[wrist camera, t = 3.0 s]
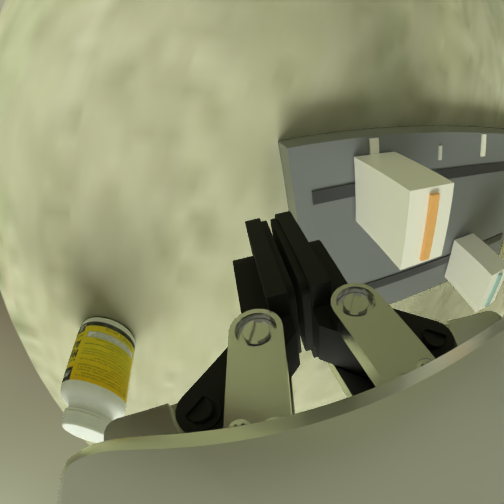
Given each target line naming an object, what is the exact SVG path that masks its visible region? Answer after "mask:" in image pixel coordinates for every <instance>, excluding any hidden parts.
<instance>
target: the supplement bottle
mask: <svg viewBox="0 0 504 504" xmlns="http://www.w3.org/2000/svg"><path fill="white" fill-rule="evenodd" d="M135 346H136V344H135V339H134V337H133V335H132V334H131V333H130V331H129V330H128V329H127V328H125V327H124V326H123V325H121V324H119V323H118V322H116V321H113V320H110V319H107V318H100V317H94V318H89V319H87V320H86V321H84V322H83V324H82V325H81V327H80V330H79V332H78V335H77V338H76V341H75V344H74V347H73V350H72V353H71V356H70V359H69V362H68V365H67V368H66V372H65V375H64V378H63V381H62V386H61V395H62V398H63V400H64V402H65V403H66V404H67V405H68V406H69V407H68V408H66V409H65V411H64V415H63V421H62V426H63V428H64V429H65V430H66V431H68V432H69V433H71V434H73V435H75V436H77V437H79V438H82V439H84V440H87V441H90V442H95V443H99V442H103V441H104V431H105V429H106V426H107V425H108V424H109V423H110V422H111V421H113V420H115V419H117V418H120V417H123V416H124V415H125V412H126V406H127V397H128V390H129V383H130V377H131V370H132V364H133V359H134V353H135Z"/></svg>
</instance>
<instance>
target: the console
mask: <svg viewBox="0 0 504 504" xmlns="http://www.w3.org/2000/svg"><path fill="white" fill-rule="evenodd" d="M278 144H279V150H280V156H281V162H282V168H283V174H284V181H285V187H286V194H287V201H288V208H289V211H290V212H291V213H292V215H293V217H294V218H295V220H296V222H297V223H298V225H299V227H300V228H301V230H302V232H303V233H304V235H305V237H306V238H307V240H308V242H311V241H315V240H320V241H321V242H322V244H323V245H324V247H325V248H326V250H327V251H328V253H329V254H330V256H331V257H332V259H333V261H334V262H335V264H336V265H337V267H338V269H339V270H340V272H341V273H342V275H343V277H344V278H345V280H346V281H347V283H348V284H349V283H362V284H366V285H368V286H370V287H372V288H373V289H374V290H376V291H377V292H378V293H379V294H380V295H381V297H382V298H383V299H384V300H385V301H386V302H387V303H388V304H391V303H394V302H397V301H399V300H402V299H405V298H407V297H410V296H412V295H415V294H417V293H420V292H422V291H425V290H427V289H430V288H432V287H434V286H437V285H439V284H441V283H444V282H446V281H448V280H447V279H446V278H445V277H444V276H445V273H446V270H447V266H448V263H449V259H450V255H451V251H452V247H453V243H454V240H455V239H458V238H461V237H464V236H467V235H469V234H472V233H474V234H475V235H476V236H477V237H478V238H480V239H481V240H482V241H483V242H484V243H485V244H487V245H488V246H489V247H490V248H491V249H492V250H493V251H494V252H496V253H497V254H498V255H499V253H500V250H501V247H502V244H503V240H504V129H499V128H487V127H471V126H405V127H386V128H373V129H362V130H352V131H342V132H334V133H326V134H319V135H312V136H306V137H299V138H293V139H288V140H282V141H278ZM387 152H397V153H399V154H401V155H403V156H405V157H407V158H409V159H411V160H413V161H415V162H417V163H419V164H421V165H423V166H425V167H427V168H429V169H431V170H432V171H434V172H436V173H438V174H440V175H441V176H443V177H445V178H447V179H448V180H450V181H452V182H454V189H453V197H452V204H451V210H450V216H449V222H448V227H447V232H446V237H445V242H444V246H443V250H442V255H441V256H439V257H436V258H434V259H431V260H428V261H425V262H423V263H420V264H417V265H414V266H411V267H408V268H405V269H402V270H400V269H399V268H398V267H397V266H396V265H395V264H394V262H393V261H392V260H391V259H390V258H389V257H388V255H387V254H386V253H385V252H384V251H383V250H382V249H381V248H380V246H379V245H378V244H377V243H376V242H375V241H374V240H373V239H372V238H371V237H370V235H369V234H368V233H367V232H366V231H365V230H364V229H363V228H362V227H361V226H360V225H359V224H358V223H357V222H356V195H355V167H354V157H356V156H363V155H371V154H378V153H387Z"/></svg>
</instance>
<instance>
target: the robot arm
mask: <svg viewBox="0 0 504 504" xmlns="http://www.w3.org/2000/svg"><path fill="white" fill-rule="evenodd" d="M270 221H271V227H272V233H273V235H272V233H271V231H270V228H269V226H268V224H267V221H262V222H261V220H260V218H258V219H254V220H250V221H246V222H245V224H246V228H247V233H248V237H249V241H250V245H251V250H252V254H253V256H251V257H247V258H243V259H238V260H234V261H233V266H234V272H235V278H236V284H237V290H238V296H239V302H240V308H241V314H240V315H239V316H238V317H237V318H235V319H234V321H233V322H232V324H231V325H230V329H229V336H228V347H227V348H226V350H225V351H224V352H223V353H222V354H221V355H220V356H219V357H218V358H217V360H216V361H215V362H214V363H213V364H212V365H211V366H210V367H209V368H208V370H207V371H206V372H205V373H204V374H203V375H202V376H201V377H200V378H199V379H198V381H197V382H196V383H195V384H194V385H193V386H192V387H191V388H190V389H189V390H188V391H187V392H186V393H185V394H184V396H183V397H182V398H181V399H180V401H179V402H178V403H177V404H174V405H171V406H170V405H169V404H165V405H161V406H158V407H155V408H152V409H149V410H145V411H142V412H138V413H135V414H131V415H128V416H124V417H120V418H117V419H115V420H113V421H111V422H110V423H109V424H108V425H107V426H106V429H105V431H104V441H103V442H99V443H96V444H93V445H90V446H88V447H86V448H84V449H82V450H80V451H78V452H76V453H75V454H74V455H72V456H71V457H70V458H69V459H68V460H67V462H66V463H65V465H64V467H63V470H62V473H61V477H60V482H59V490H58V504H504V318H502V317H501V316H500V315H499V314H497V313H496V312H493V311H485V312H482V313H478V314H474V315H471V316H467V317H463V318H459V319H455V320H450V321H447V323H446V325H444V324H442V323H440V322H437V321H434V320H430V319H427V318H423V317H420V316H417V315H413V314H410V313H406V312H403V311H400V310H396V309H393V308H392V307H391V306H390V305H389V304H388V303H387V302H386V301H385V300H384V299H383V298H382V297H381V295H380V294H379V293H378V292H377V291H376V290H374V289H373V288H372V287H370V286H368V285H366V284H362V283H349V284H348V283H347V281H346V280H345V278H344V277H343V275H342V273H341V272H340V270H339V269H338V267H337V265H336V264H335V262H334V261H333V259H332V257H331V256H330V254H329V253H328V251H327V250H326V248H325V247H324V245H323V244H322V242H321V241H320V240H315V241H311V242H308V240H307V238H306V237H305V235H304V233H303V232H302V230H301V228H300V227H299V225H298V223H297V222H296V220H295V218H294V217H293V215H292V213H291V212H290V211H288V212H283V213H279V214H275V219H271V220H270ZM300 336H301V339H302V342H303V345H304V348H305V350H306V351H308V350H311V351H312V354H313V356H314V358H315V357H319V359H321V360H323V361H326V362H328V364H329V367H330V369H331V371H332V373H333V374H334V376H335V378H336V379H337V381H338V383H339V384H340V386H341V388H342V389H343V391H344V393H345V394H346V396H347V398H346V399H343V400H340V401H337V402H334V403H331V404H328V405H324V406H321V407H318V408H315V409H311V410H308V411H304V412H300V413H297V414H295V406H294V395H293V385H292V376H293V374H294V373H295V371H296V370H297V368H298V367H299V365H300V359H299V353H301V342H300Z"/></svg>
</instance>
